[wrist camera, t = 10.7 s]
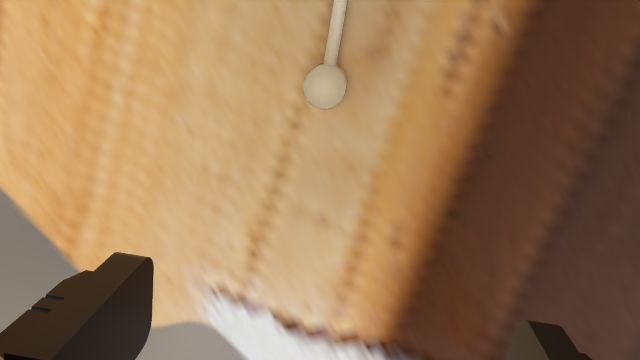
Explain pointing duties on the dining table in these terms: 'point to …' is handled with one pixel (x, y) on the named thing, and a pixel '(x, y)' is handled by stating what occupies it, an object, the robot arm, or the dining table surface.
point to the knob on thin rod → (329, 66)
